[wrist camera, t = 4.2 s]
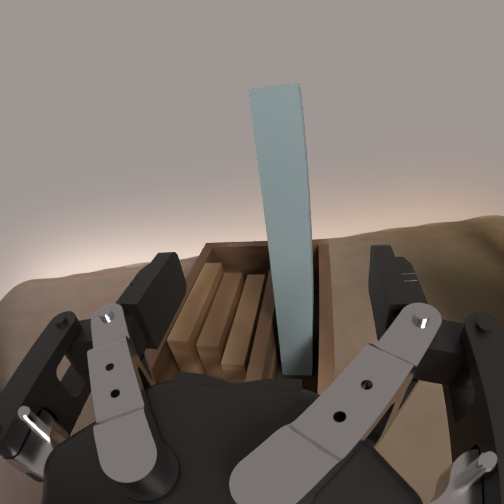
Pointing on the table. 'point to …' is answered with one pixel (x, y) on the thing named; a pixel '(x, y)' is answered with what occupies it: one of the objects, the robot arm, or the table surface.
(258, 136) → the panel
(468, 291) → the table surface
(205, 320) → the offcuts
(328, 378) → the rack
